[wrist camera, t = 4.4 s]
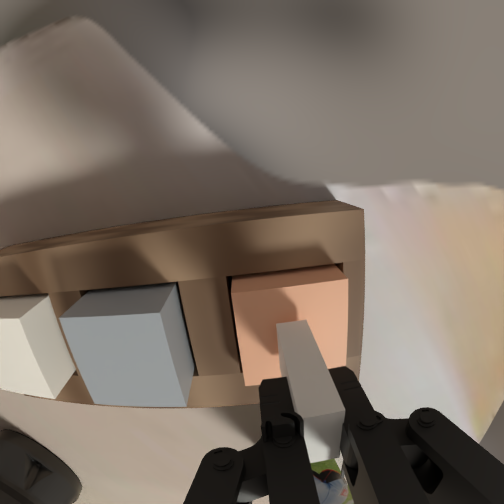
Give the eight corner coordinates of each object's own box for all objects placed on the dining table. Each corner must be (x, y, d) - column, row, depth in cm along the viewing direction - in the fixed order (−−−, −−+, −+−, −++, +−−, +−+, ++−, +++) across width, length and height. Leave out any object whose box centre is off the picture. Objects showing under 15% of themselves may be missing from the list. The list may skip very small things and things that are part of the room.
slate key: (115, 367, 19) (94, 403, 15) (89, 289, 17) (58, 317, 13) (195, 365, 19) (186, 406, 15) (176, 281, 17) (160, 312, 13)
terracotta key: (244, 349, 20) (245, 386, 16) (232, 268, 19) (231, 293, 15) (328, 337, 20) (345, 371, 16) (327, 256, 19) (348, 278, 15)
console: (48, 365, 23) (24, 395, 19) (8, 246, 20) (-28, 262, 15) (338, 349, 24) (358, 387, 19) (336, 200, 20) (363, 209, 16)
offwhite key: (25, 362, 19) (1, 389, 15) (0, 296, 17) (-32, 318, 13) (78, 366, 19) (55, 399, 15) (52, 293, 17) (19, 318, 13)
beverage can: (260, 426, 26) (269, 535, 14) (336, 414, 26) (372, 515, 14) (265, 461, 27) (274, 555, 16) (333, 451, 27) (359, 539, 16)
